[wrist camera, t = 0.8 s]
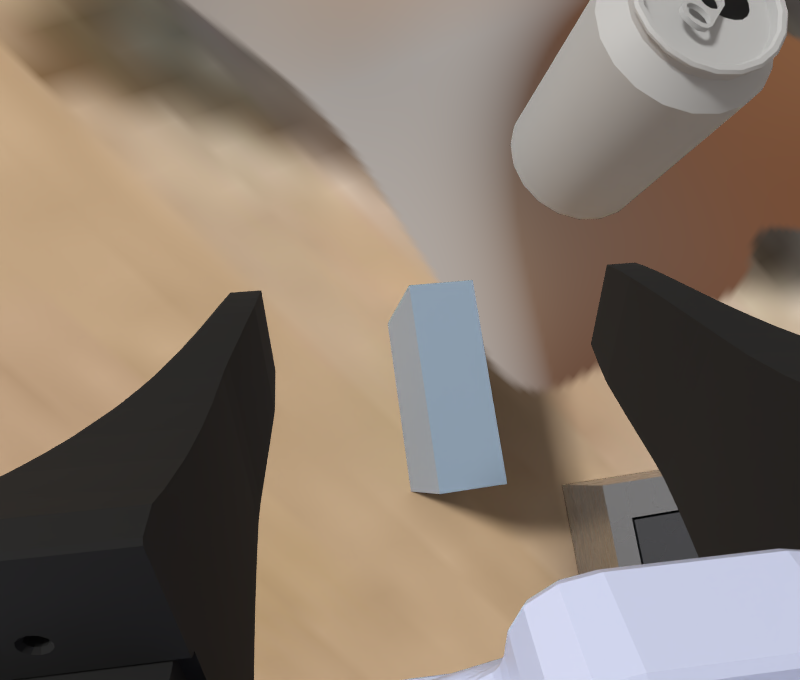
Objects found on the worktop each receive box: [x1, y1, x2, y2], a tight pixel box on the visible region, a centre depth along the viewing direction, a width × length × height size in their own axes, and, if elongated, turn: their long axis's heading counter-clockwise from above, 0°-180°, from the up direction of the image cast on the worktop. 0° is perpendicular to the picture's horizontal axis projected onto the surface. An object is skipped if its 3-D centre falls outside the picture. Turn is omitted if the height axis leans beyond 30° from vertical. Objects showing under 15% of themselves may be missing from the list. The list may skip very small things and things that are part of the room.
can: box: [511, 0, 788, 219], centre depth 27 cm, size 8×8×12 cm
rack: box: [562, 470, 699, 575], centre depth 27 cm, size 13×16×4 cm
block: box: [388, 280, 507, 494], centre depth 26 cm, size 8×3×6 cm, turn 8°
